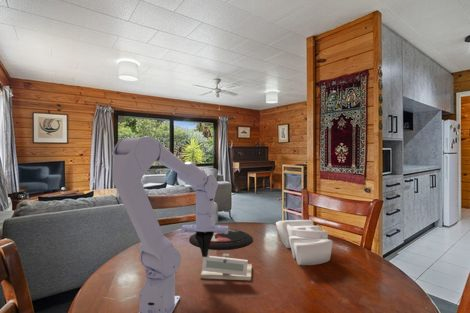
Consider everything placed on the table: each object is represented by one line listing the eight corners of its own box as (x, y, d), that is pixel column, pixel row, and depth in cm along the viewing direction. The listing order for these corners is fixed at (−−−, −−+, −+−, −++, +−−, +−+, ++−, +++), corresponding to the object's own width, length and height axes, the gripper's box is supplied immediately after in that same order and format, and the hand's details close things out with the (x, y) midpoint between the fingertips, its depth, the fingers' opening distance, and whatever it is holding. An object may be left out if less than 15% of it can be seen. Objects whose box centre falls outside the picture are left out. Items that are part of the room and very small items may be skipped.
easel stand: (251, 280, 75) (250, 257, 75) (200, 278, 76) (200, 255, 76) (251, 267, 84) (251, 246, 84) (206, 265, 85) (206, 244, 85)
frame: (246, 276, 73) (247, 262, 73) (201, 271, 75) (202, 257, 74) (246, 274, 75) (247, 260, 75) (202, 269, 76) (203, 255, 76)
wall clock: (179, 252, 103) (248, 253, 97) (178, 242, 103) (247, 242, 97) (200, 233, 129) (256, 232, 123) (200, 224, 129) (255, 223, 123)
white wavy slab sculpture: (340, 271, 81) (340, 240, 81) (291, 271, 81) (291, 240, 81) (308, 236, 116) (308, 215, 116) (274, 236, 116) (274, 215, 116)
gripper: (229, 209, 79) (229, 251, 79) (186, 209, 80) (186, 249, 80) (226, 215, 72) (226, 260, 72) (179, 214, 73) (179, 258, 73)
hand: (205, 255), depth 76 cm, fingers closed
